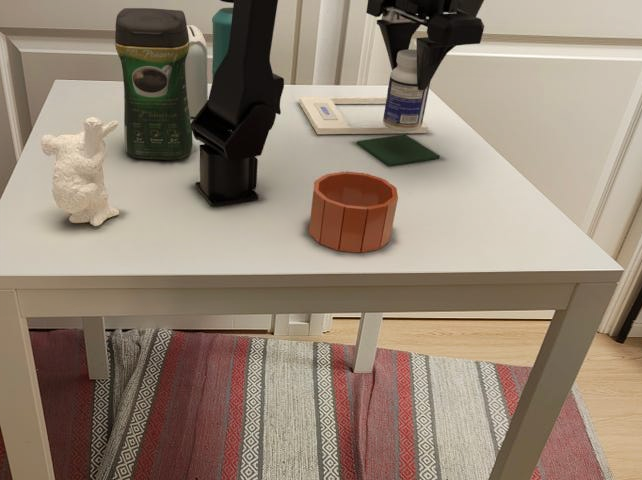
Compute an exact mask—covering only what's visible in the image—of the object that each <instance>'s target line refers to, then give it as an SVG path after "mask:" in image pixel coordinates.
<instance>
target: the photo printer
mask: <svg viewBox="0 0 642 480" xmlns="http://www.w3.org/2000/svg"><path fill="white" fill-rule="evenodd" d="M187 29H188V35H189V51H188V54H187V57H186V60H185V77H186V91H187V99H188V107H189V114H190V118H195V117H196V115H197V114H198V113H199V111H200V110H201V109H202V107H203V106H204V105H205V103H206V102H207V101H208V99H209V91H208V90H209V89H208V87H209V86H208V45H207V42H206V41H207V40H206V39H205V37H204V34H203V33H202V31H201V30H200V29H199V28H198V27H197V26H196V25H194V24H190V25H187Z"/></svg>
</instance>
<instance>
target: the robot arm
mask: <svg viewBox="0 0 642 480" xmlns="http://www.w3.org/2000/svg"><path fill="white" fill-rule="evenodd" d="M484 1H485V0H367V5H366V12H365V14H368V15H370V16H372V17H375V18H379V17H380V18H381V19H376V25H378V26H379V30H380V33H381V36H382V39H383V42H384V45H385V49H386V53H387V57H388V61H389V65H390V67H391V71H392V70H393V69H394V68H396V67H397V65H398V64H397V62H396V60H397V54H398V52H399V51H401V50H409V49H410V45H411V41H412V37H413V35H415V33H416V32H417V31H418V29H419V28H420V27H421V25H422V26H424V27H426V35H427V36H423V37H422V36H421V37H416V39H415V40H416V41H415V42H416V50H417V85H418V90H420V91H421V90H425V89H426V88H427V86H428V85H429V83H430V84H431V82H432V79H433V78H434V76H435V74H436V72H437V70H438V69H439V68H440V65H441V64H442V62H443V60H444V59H445V57H446V56H447V54H448V53H449V52H450V51H452V50H453V49H454V48H455V47H457V46H467V45H480V44H481V43H482V40H483V34H484V31H485V24H484V22H483V21H482V19H481V18H480V17H477V16H478V14H479V11H480V9H481V8H482V5H483V3H484ZM232 4H233V5H232V8H233V13H232V22H231V31H230V40H229V48H228V52H227V54H226V56H225V57H224V59H223V61H222V62H221V64H220V66H219V67H218V69H217V70H216V72H215V74H214V78H213V77H212V81H211V86H210V91H209V94H208V101H207V102H206V103H205V105H204V106H203V107H202V109H201V110H200V111H199V113H198V114H197V115H196V117H193V120H191V124H190V127H191V130H192V136H193V138H194V139H195V140H197V141H200V142H201V144H199V181H197V182H195V184H194V185H195V188H196V189H197V190H198V192H199V193H200V194H201V195H202V196H203V198H204V199H205V200H206V201H207V203H209V205H210V206H212V207H219V206H225V205H233V204H238V203H243V202H249V201H257V200H258V199H259V194H258V192H256V189H257V185H258V165H259V159H258V158H257V157H259V156H261V155H262V154H263V150H264V148H265V144H266V141H267V138H268V136H269V132H270V131H271V130H272V129H273V127H274V125H275V121H276V118H277V115H281V114H282V110H281V100H282V95H283V91H284V89H285V79H284V77H282V76H281V75H279V74H276V73H274V72H273V69H272V65H271V64H272V63H271V51H272V45H273V38H274V32H275V25H276V18H277V12H278V11H277V10H278V6H279V5H278V4H279V0H234V3H232Z"/></svg>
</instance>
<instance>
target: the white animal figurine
mask: <svg viewBox="0 0 642 480" xmlns="http://www.w3.org/2000/svg"><path fill="white" fill-rule="evenodd" d="M83 126H84V127H83V128H84V130H83V131H81V132H79V133H77V134H65V133H64V134H60V135H58V136H54V135H52V134H44V135H43V136H42V137H41V140H40V146H41V150H42V153H43V154H44V155H45V156H47V157H51V156H54V155H55V162H54V166H53V169H52V172H53V173H52V183H51V185H52V188H51V193H52V197H53V200H54V201H55V204H56V206H57V207H58V208H59V209H60V210H61V211H62V212H64V213H67V214H70V216H69V217H68V220H69V222H70V223H72V224H81V223H82V224H84V223H89V224H90V225H91V226H93V227H97V226H100V225H102V224H103V223H104V222H105V221H106V220H107V219H109V218H113V217H115V216H119V215H120V211H119V209H118V208H116V207H113V206H110V205H109V203H108V197H109V194H108V192H107V187H106V185H105V175H104V170H103V163H104V161H105V159H106V157H107V145H106V141H105V140H104V138H106V137H107V136H109V134H111V133H112V132H114V131H115V130H116V128H117V127H118V126H119V124H118V121H117V120H112V121H110V122H109V123H107V124H105V125H104V123H103V121H102V120H100V119H99V118H97V117H94V116H93V117H87V118H86V119H84V120H83Z"/></svg>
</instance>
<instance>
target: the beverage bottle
mask: <svg viewBox="0 0 642 480" xmlns="http://www.w3.org/2000/svg"><path fill="white" fill-rule="evenodd" d="M219 1H220V2H222V3H223V2H224V3H229V4H234V0H219ZM232 13H233V7H223V8H220V9H219V10H217V12H215V14H214V15H213V16H212V18H211V22H212V60H211V61H212V63H211V66H212V68H211V73H212V79H213V78H214V74H215V72H216V70H217V69H218V67H219V66H220V64H221V62H222V61H223V59H224V57H225V56H226V54H227V52H228V48H229V40H230V31H231V22H232Z"/></svg>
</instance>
